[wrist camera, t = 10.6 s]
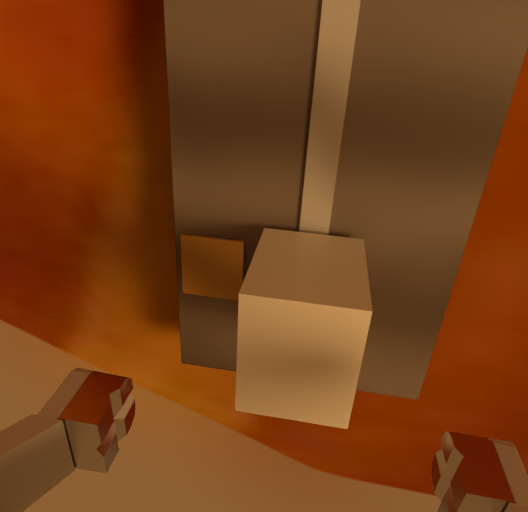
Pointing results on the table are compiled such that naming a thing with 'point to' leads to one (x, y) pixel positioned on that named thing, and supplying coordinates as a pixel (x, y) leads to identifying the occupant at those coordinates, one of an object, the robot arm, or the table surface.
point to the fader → (302, 327)
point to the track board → (335, 153)
